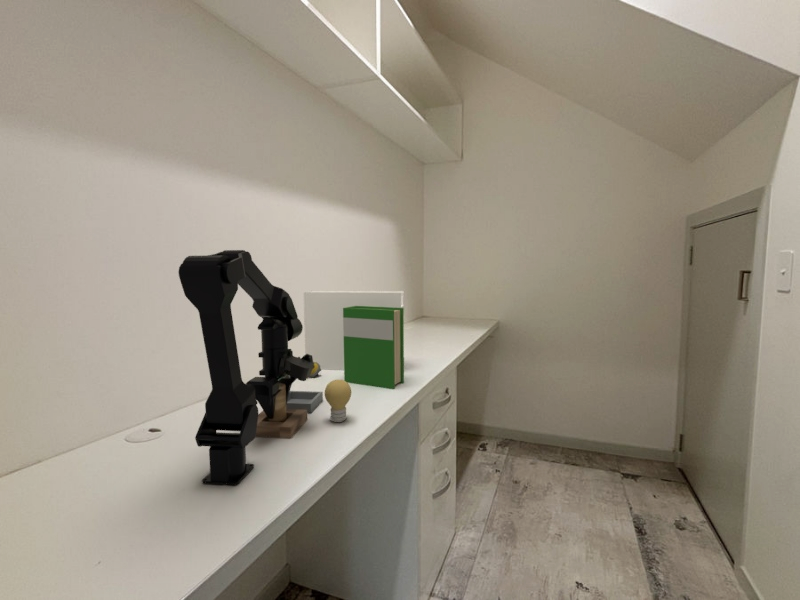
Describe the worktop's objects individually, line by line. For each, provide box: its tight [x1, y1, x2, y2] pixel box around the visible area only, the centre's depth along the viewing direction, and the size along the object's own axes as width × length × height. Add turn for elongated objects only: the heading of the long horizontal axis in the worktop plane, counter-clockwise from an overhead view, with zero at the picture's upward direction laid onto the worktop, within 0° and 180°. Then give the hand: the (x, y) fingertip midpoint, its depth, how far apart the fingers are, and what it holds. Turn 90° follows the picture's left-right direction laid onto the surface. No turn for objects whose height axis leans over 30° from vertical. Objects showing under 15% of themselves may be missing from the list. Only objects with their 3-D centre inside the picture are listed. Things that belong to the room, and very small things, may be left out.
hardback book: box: [343, 306, 405, 390], centre depth 126 cm, size 18×7×24 cm, turn 64°
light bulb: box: [324, 379, 352, 423], centre depth 96 cm, size 6×6×10 cm
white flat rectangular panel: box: [303, 290, 405, 372], centre depth 143 cm, size 35×8×28 cm, turn 81°
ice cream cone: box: [309, 362, 322, 378], centre depth 133 cm, size 5×5×10 cm
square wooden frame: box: [255, 409, 308, 439], centre depth 92 cm, size 10×10×2 cm
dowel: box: [269, 383, 287, 422], centre depth 92 cm, size 4×4×10 cm
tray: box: [286, 390, 324, 414], centre depth 106 cm, size 10×10×2 cm
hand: (277, 412), depth 92 cm, fingers open, 7 cm apart
